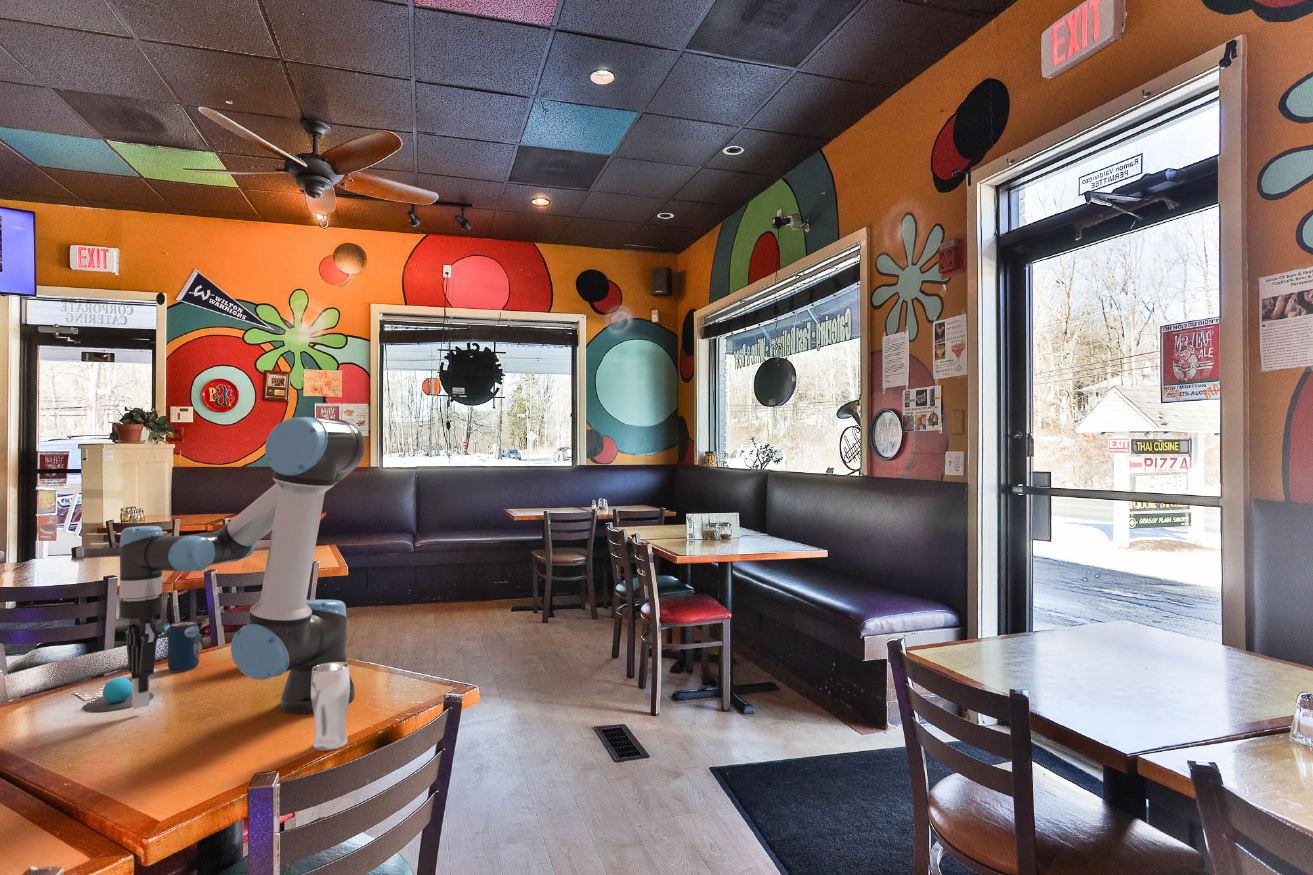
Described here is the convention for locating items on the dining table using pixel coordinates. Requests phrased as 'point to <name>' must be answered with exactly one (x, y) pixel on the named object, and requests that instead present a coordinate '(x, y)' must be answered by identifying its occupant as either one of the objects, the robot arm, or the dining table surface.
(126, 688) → the ball
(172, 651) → the soda can
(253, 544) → the robot arm
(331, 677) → the beer glass
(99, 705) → the grey flat disc
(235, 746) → the dining table surface
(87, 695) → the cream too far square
